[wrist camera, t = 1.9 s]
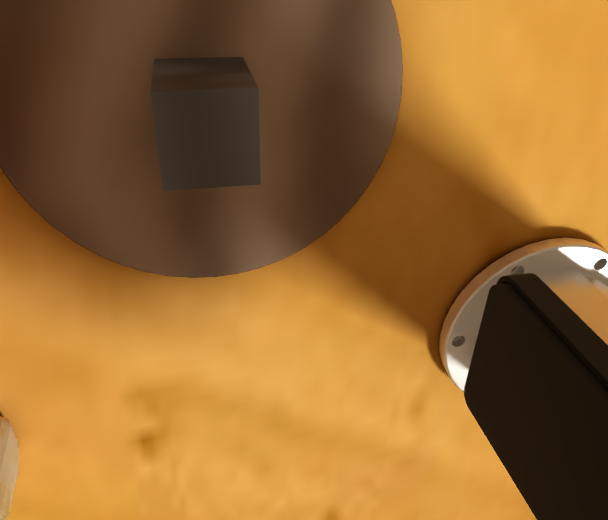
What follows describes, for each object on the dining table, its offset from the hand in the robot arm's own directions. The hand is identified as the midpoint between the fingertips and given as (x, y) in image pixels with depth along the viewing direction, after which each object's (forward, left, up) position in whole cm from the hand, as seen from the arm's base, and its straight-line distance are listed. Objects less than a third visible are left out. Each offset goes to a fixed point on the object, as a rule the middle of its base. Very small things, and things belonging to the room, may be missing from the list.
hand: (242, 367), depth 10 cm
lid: (0, 0, -18) cm, 18 cm away
